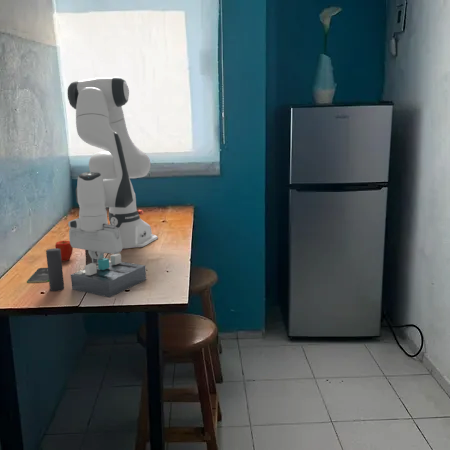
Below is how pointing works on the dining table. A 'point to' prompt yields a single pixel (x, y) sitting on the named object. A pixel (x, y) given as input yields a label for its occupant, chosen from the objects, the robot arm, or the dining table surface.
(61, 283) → the post
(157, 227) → the dining table surface
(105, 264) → the slider mid
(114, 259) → the slider
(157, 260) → the dining table surface
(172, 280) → the dining table surface
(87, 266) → the slider
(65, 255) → the apple
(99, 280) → the panel
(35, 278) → the smartphone
